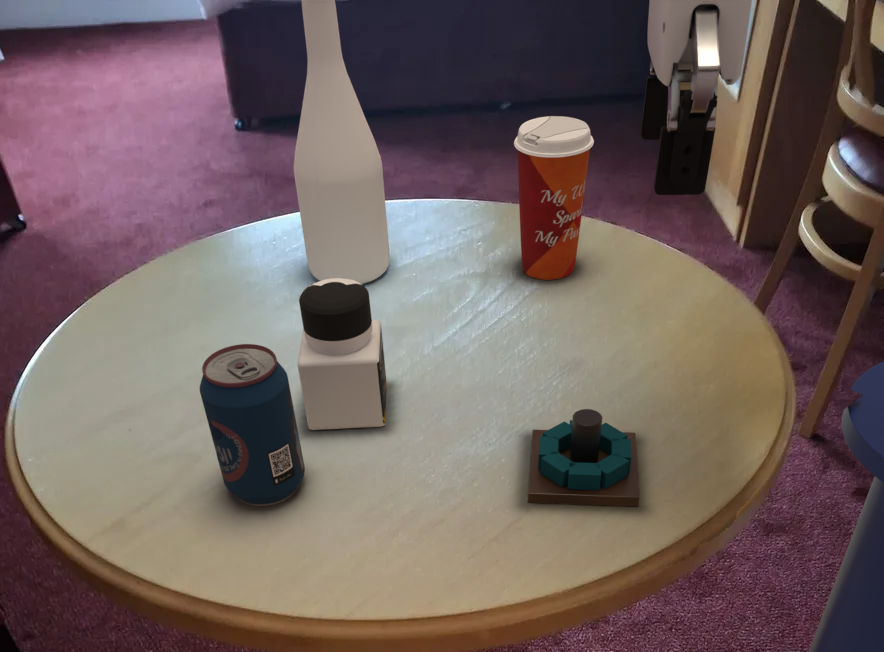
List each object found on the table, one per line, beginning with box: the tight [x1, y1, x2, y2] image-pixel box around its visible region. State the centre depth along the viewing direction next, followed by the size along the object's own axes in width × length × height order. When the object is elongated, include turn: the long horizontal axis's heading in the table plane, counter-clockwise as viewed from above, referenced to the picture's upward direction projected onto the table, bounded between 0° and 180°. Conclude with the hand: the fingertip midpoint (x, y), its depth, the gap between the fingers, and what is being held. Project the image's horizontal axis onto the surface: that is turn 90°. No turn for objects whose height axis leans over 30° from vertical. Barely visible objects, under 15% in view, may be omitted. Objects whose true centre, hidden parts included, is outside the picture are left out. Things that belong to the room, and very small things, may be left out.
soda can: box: [199, 343, 306, 507], centre depth 74 cm, size 7×7×12 cm
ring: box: [538, 419, 632, 490], centre depth 77 cm, size 8×8×2 cm
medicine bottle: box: [297, 278, 388, 431], centre depth 82 cm, size 7×7×12 cm
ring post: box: [527, 408, 641, 508], centre depth 76 cm, size 9×9×6 cm
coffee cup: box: [513, 115, 595, 281], centre depth 99 cm, size 8×8×15 cm
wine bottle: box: [293, 0, 391, 285], centre depth 96 cm, size 10×10×30 cm
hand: (670, 164), depth 62 cm, fingers open, 9 cm apart
